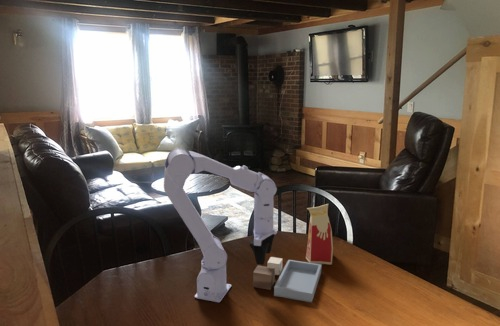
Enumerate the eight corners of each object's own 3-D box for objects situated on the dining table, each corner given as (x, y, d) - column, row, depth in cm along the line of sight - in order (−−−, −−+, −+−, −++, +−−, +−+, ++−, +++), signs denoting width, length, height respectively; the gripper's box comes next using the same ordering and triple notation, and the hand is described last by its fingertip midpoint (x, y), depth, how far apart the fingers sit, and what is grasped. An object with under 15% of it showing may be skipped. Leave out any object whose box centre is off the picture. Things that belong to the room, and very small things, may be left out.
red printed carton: (330, 252, 140) (332, 199, 135) (333, 264, 131) (335, 208, 126) (304, 251, 140) (306, 199, 136) (305, 263, 131) (307, 207, 127)
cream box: (279, 275, 124) (279, 264, 123) (267, 273, 125) (267, 262, 124) (282, 269, 128) (282, 258, 127) (270, 267, 129) (270, 256, 128)
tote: (311, 302, 109) (312, 293, 108) (274, 295, 112) (274, 287, 112) (321, 272, 125) (321, 264, 125) (288, 267, 129) (288, 259, 128)
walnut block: (270, 290, 115) (270, 275, 114) (253, 287, 117) (253, 272, 116) (274, 282, 120) (274, 268, 118) (257, 279, 121) (257, 265, 120)
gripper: (271, 226, 106) (270, 271, 109) (282, 209, 120) (281, 249, 123) (246, 223, 108) (246, 267, 111) (260, 206, 122) (260, 246, 125)
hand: (263, 258), depth 117 cm, fingers open, 7 cm apart
